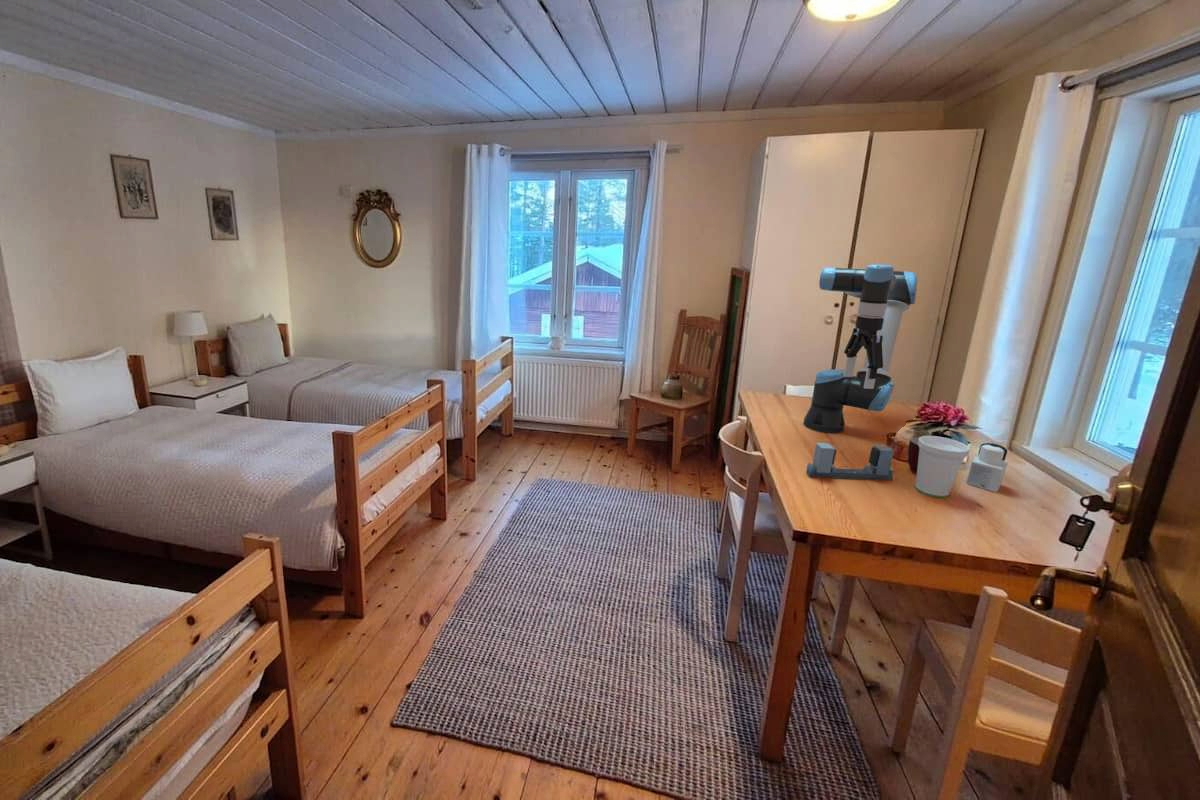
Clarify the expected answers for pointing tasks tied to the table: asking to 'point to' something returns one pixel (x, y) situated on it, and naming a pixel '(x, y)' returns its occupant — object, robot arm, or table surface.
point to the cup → (938, 464)
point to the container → (988, 467)
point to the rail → (875, 471)
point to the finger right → (824, 457)
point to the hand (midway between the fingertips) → (857, 382)
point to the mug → (913, 454)
